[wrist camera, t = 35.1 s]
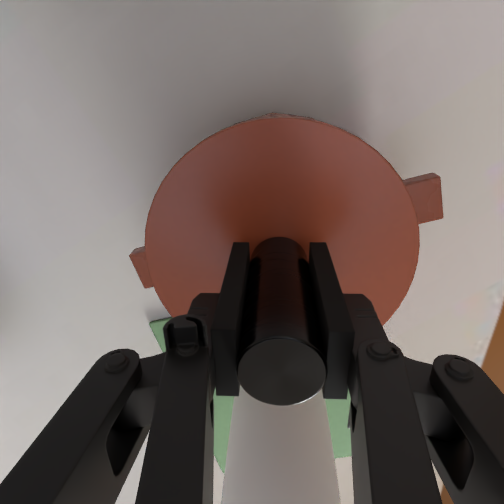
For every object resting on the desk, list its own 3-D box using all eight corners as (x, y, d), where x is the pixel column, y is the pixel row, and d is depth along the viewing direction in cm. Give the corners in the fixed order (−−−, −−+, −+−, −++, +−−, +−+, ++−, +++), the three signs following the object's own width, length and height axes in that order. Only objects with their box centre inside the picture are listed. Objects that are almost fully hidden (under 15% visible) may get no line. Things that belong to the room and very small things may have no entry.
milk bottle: (230, 353, 31) (168, 734, 13) (320, 348, 30) (390, 748, 12) (241, 416, 34) (204, 792, 16) (323, 413, 33) (381, 805, 15)
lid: (108, 162, 17) (-33, 228, 9) (393, 74, 15) (527, 63, 7) (202, 369, 22) (163, 523, 15) (422, 328, 20) (517, 483, 12)
